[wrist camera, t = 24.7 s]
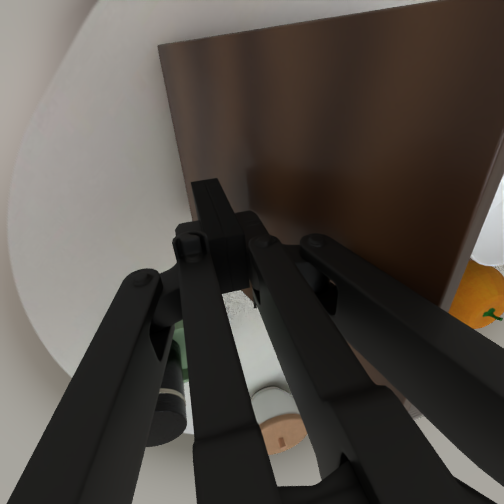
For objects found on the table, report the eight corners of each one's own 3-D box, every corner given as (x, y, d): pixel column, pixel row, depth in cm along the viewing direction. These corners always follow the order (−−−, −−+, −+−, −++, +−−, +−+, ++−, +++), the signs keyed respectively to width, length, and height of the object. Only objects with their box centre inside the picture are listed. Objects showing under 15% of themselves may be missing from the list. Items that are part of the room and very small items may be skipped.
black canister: (137, 375, 45) (132, 454, 36) (122, 343, 41) (113, 423, 32) (185, 362, 46) (192, 435, 37) (175, 330, 42) (180, 403, 33)
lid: (583, -19, 5) (562, -20, 5) (402, 427, 14) (390, 439, 14) (169, 44, 20) (156, 45, 20) (206, 244, 29) (197, 247, 28)
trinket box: (266, 418, 62) (281, 469, 54) (227, 406, 56) (238, 461, 49) (303, 387, 60) (325, 435, 52) (267, 371, 54) (286, 423, 46)
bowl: (438, 115, 36) (516, 132, 28) (536, 120, 40) (628, 135, 32) (395, 234, 44) (446, 272, 36) (479, 228, 48) (541, 261, 41)
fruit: (458, 241, 49) (518, 278, 41) (487, 267, 54) (546, 304, 46) (405, 294, 52) (450, 338, 44) (438, 313, 58) (484, 355, 50)
